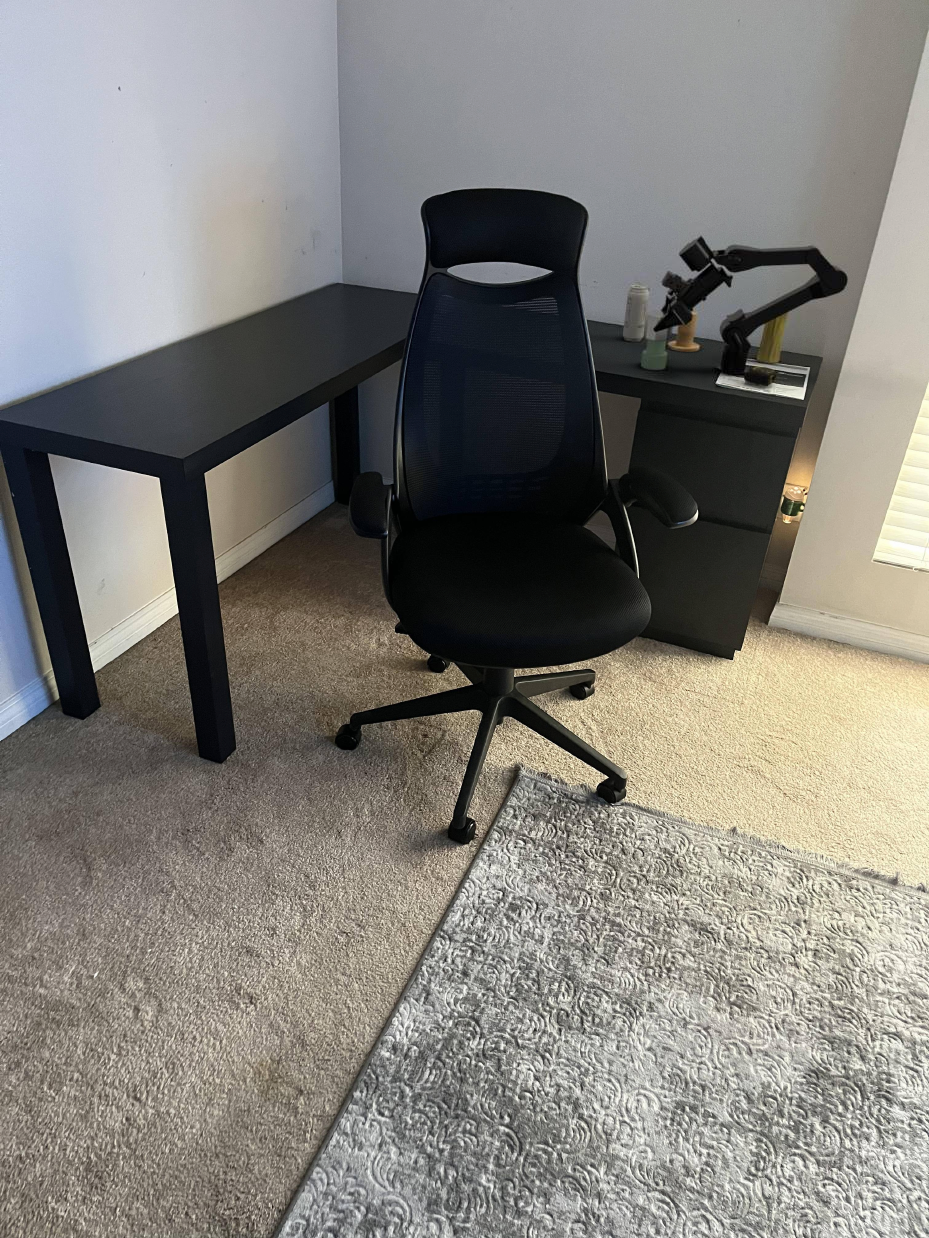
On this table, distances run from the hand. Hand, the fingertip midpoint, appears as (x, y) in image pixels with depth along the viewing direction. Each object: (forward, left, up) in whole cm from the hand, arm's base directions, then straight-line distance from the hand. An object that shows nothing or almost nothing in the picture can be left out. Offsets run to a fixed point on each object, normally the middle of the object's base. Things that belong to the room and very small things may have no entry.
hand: (653, 327), depth 233 cm
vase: (-5, -36, -11) cm, 37 cm away
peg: (+13, -20, -10) cm, 26 cm away
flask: (-1, -1, -10) cm, 11 cm away
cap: (-1, -1, -2) cm, 3 cm away
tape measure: (-23, -20, -11) cm, 32 cm away
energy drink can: (+25, -10, -11) cm, 29 cm away
